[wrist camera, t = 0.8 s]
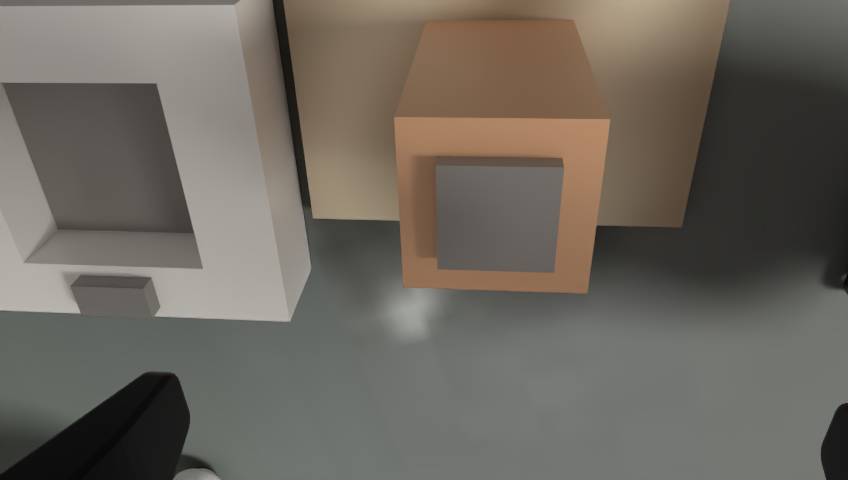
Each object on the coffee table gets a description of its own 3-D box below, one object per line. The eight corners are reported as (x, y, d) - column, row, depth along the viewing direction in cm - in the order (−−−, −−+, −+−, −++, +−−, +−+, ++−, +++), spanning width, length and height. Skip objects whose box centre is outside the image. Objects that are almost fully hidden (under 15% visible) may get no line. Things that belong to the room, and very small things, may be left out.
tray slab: (741, -88, 17) (748, -85, 16) (677, 217, 22) (681, 227, 21) (279, -80, 18) (272, -77, 17) (317, 209, 23) (313, 218, 22)
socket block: (269, -21, 19) (226, 10, 16) (311, 268, 24) (285, 333, 21) (-90, -18, 20) (-195, 12, 17) (27, 260, 25) (-37, 320, 22)
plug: (573, 19, 18) (613, 127, 12) (561, 153, 20) (589, 305, 14) (426, 20, 18) (391, 125, 12) (430, 152, 21) (401, 298, 14)
